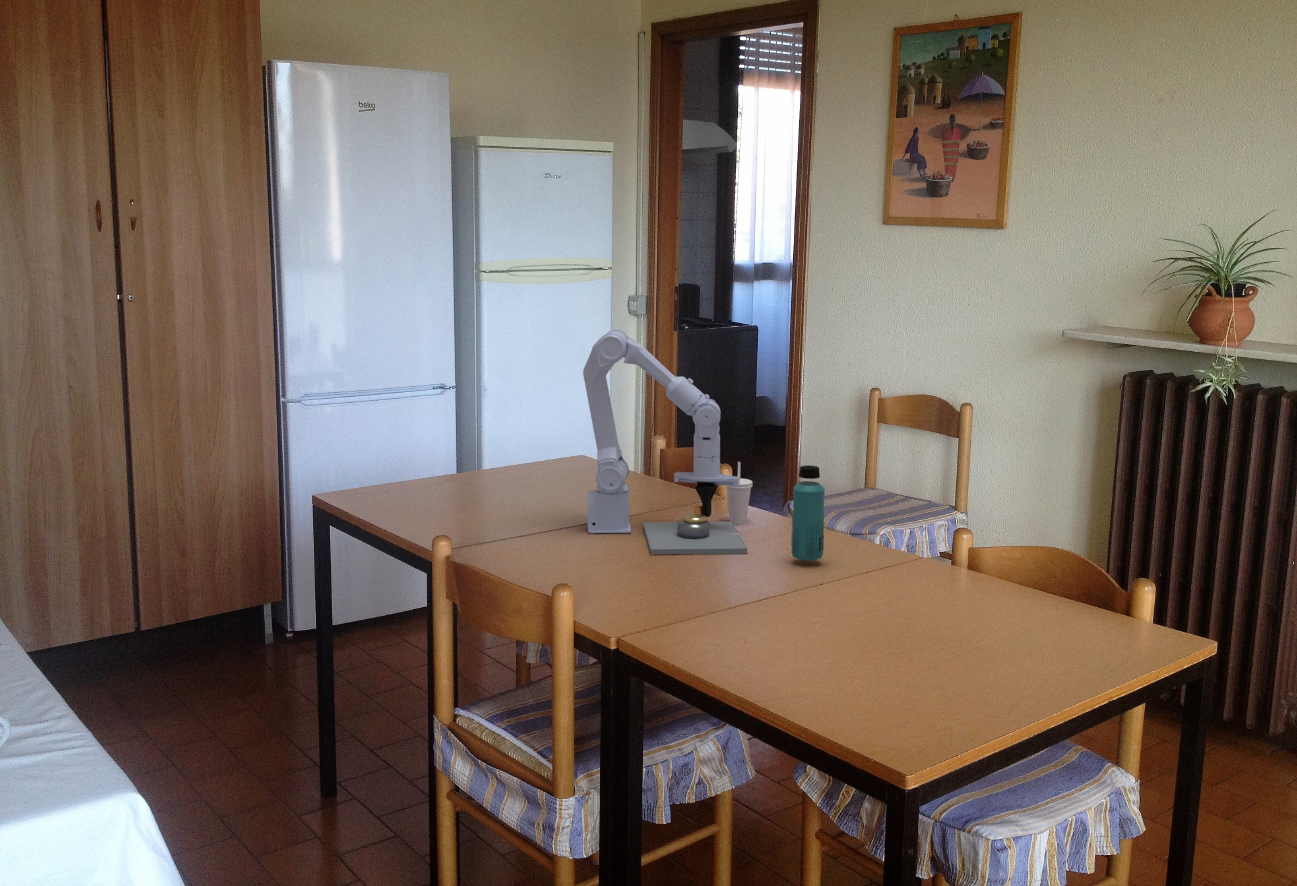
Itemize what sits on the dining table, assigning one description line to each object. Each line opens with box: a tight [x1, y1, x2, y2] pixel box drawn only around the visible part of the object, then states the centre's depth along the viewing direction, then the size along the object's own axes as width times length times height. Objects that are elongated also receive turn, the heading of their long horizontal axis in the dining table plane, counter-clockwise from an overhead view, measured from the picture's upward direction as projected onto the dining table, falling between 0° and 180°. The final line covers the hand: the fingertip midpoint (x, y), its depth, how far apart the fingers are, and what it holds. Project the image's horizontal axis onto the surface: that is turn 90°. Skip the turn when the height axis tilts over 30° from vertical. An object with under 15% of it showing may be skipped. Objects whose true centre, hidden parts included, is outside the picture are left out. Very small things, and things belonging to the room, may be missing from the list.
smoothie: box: [724, 461, 754, 525], centre depth 265 cm, size 6×6×14 cm
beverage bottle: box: [790, 464, 826, 561], centre depth 233 cm, size 6×7×20 cm
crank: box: [677, 503, 711, 538], centre depth 252 cm, size 12×7×4 cm, turn 168°
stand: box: [642, 521, 748, 555], centre depth 250 cm, size 20×22×1 cm
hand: (706, 515), depth 256 cm, fingers closed, pressing on crank
